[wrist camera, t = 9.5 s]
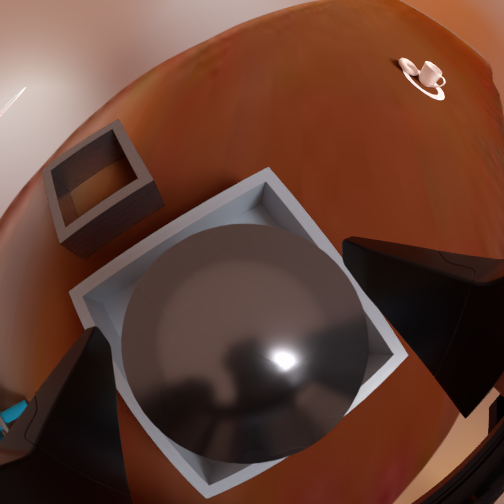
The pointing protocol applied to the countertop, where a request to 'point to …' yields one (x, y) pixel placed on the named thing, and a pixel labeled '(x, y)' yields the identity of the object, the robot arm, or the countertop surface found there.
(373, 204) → the countertop surface
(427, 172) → the countertop surface
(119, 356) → the tray
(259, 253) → the capped labeled canister
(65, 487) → the robot arm
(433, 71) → the teacup and saucer
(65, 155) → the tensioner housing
